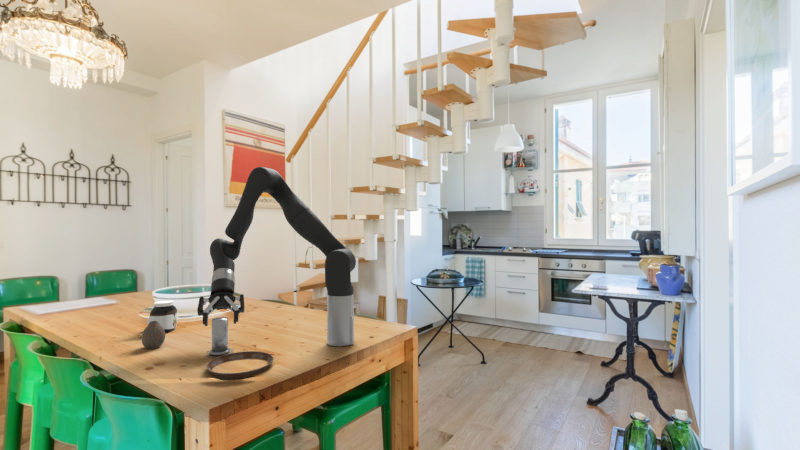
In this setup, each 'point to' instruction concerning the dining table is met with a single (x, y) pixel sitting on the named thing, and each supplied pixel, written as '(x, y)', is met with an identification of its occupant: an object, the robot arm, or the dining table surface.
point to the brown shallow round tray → (237, 356)
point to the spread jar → (164, 315)
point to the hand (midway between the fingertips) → (220, 323)
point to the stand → (215, 356)
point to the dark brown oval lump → (153, 335)
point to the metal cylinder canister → (219, 337)
